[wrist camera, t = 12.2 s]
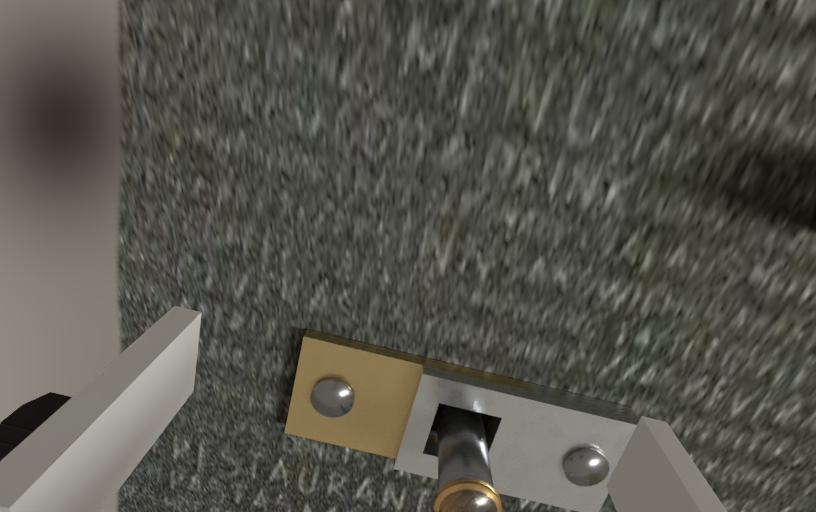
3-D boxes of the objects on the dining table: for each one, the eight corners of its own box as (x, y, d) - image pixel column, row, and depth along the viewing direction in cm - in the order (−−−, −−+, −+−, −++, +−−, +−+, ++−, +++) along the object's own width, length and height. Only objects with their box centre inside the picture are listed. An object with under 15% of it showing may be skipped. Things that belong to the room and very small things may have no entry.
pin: (441, 389, 50) (444, 478, 39) (492, 401, 50) (511, 494, 39) (427, 431, 52) (426, 528, 41) (477, 442, 52) (490, 542, 41)
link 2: (423, 356, 49) (422, 377, 45) (630, 407, 50) (645, 430, 46) (395, 448, 53) (393, 473, 50) (587, 492, 54) (598, 520, 51)
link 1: (307, 328, 48) (302, 339, 46) (529, 382, 49) (533, 395, 47) (288, 423, 52) (282, 436, 50) (493, 470, 53) (495, 485, 51)
